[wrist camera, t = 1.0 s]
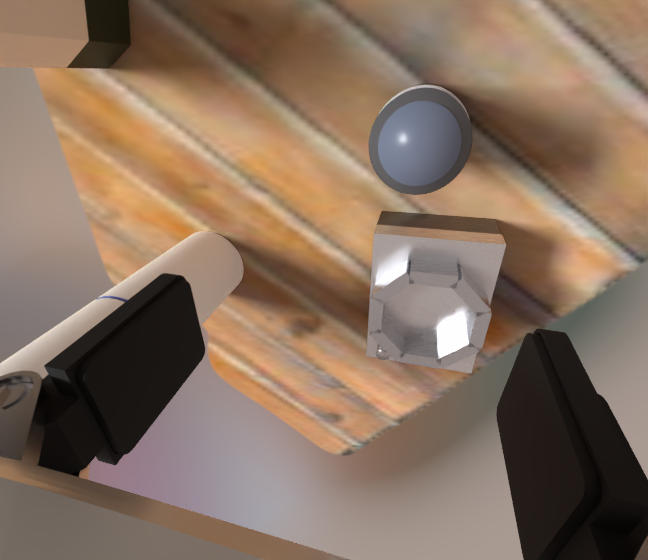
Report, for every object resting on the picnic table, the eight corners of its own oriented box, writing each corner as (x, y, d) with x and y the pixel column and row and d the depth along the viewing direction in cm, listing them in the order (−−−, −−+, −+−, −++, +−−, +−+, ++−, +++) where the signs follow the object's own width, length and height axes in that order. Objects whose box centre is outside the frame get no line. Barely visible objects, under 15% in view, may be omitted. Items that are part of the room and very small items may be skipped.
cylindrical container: (248, 245, 35) (-15, 494, 14) (239, 299, 39) (21, 556, 18) (184, 221, 36) (-160, 427, 15) (181, 276, 40) (-94, 502, 19)
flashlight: (389, 82, 25) (368, 86, 17) (466, 81, 24) (485, 85, 16) (384, 157, 28) (364, 194, 19) (453, 160, 27) (463, 200, 18)
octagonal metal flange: (381, 211, 30) (369, 244, 24) (495, 219, 28) (512, 257, 22) (373, 323, 36) (362, 371, 30) (466, 336, 34) (473, 391, 28)
